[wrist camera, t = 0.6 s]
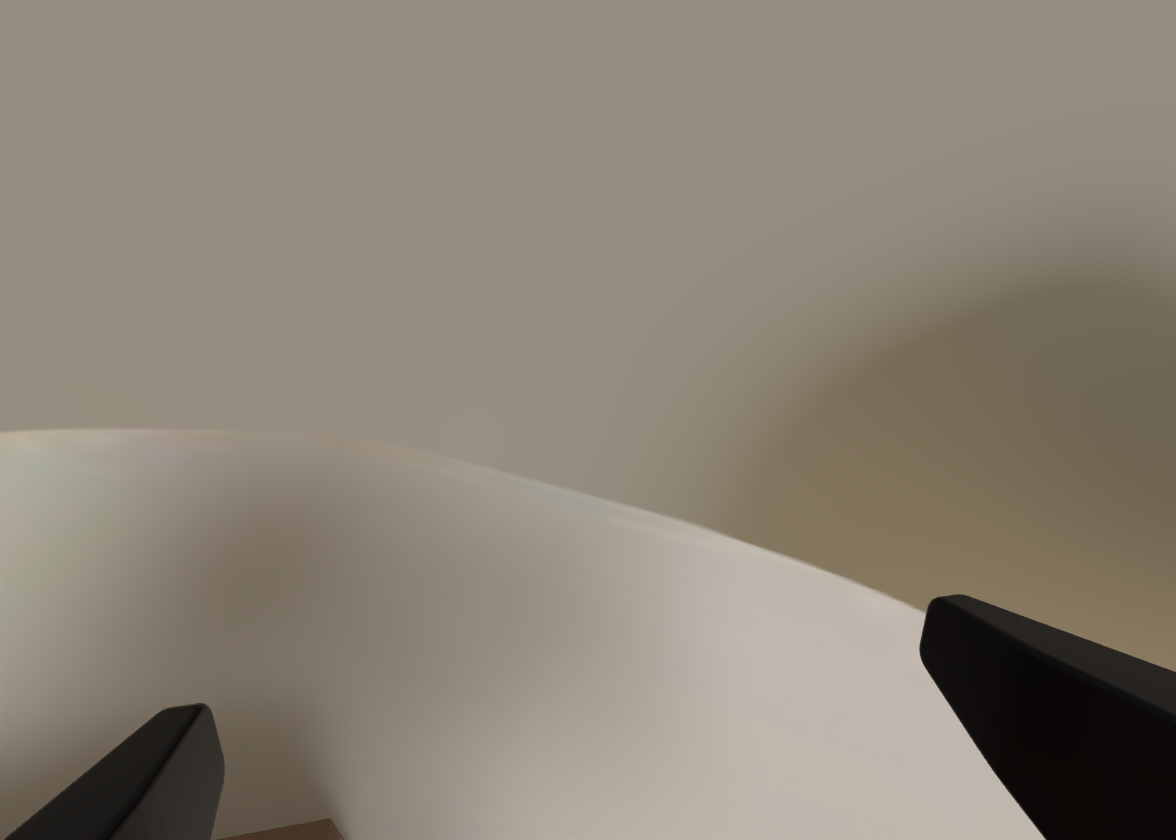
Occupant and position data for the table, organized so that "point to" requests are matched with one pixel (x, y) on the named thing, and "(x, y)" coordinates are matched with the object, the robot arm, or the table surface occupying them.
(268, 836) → the brown flat block
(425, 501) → the table surface
